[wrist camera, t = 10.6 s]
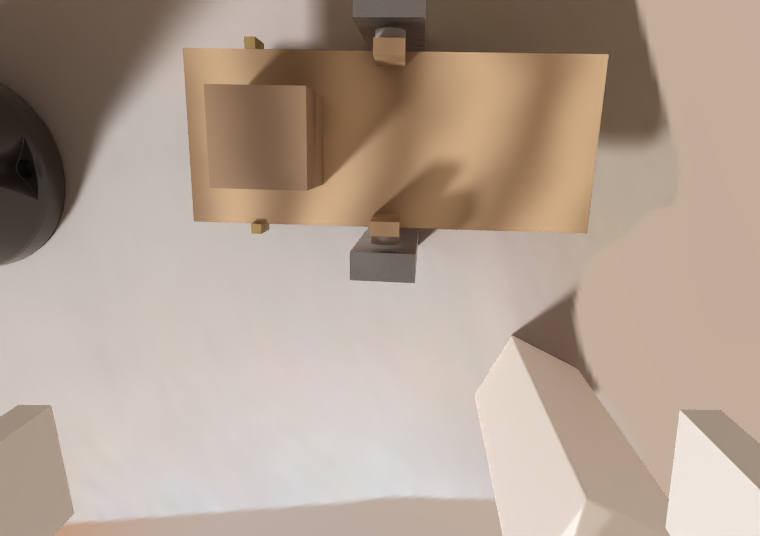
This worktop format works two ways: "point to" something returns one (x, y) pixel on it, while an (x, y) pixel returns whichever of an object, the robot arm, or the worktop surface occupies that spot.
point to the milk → (561, 453)
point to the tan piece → (419, 137)
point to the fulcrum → (398, 262)
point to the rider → (264, 137)
